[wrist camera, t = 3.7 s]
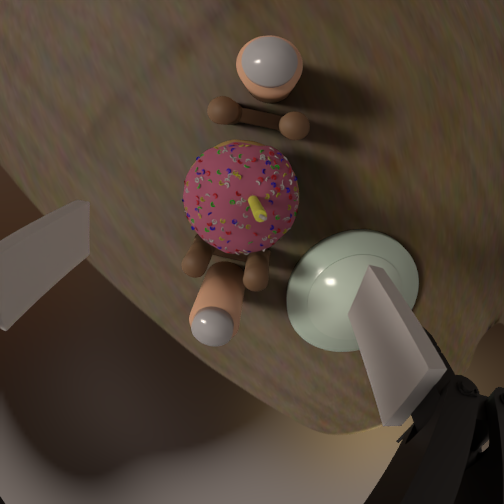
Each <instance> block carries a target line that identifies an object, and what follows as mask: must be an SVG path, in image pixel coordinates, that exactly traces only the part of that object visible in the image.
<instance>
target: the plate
mask: <svg viewBox="0 0 504 504" xmlns="http://www.w3.org/2000/svg"><path fill="white" fill-rule="evenodd" d="M368 265H372V266H376V267H380V268H383V269H384V270H385V272H386V273H387V275H388V276H389V278H390V279H391V280H392V282H393V283H394V285H395V286H396V288H397V289H398V291H399V292H400V294H401V295H402V297H403V298H404V300H405V301H406V303H407V304H408V306H409V307H410V309H411V310H412V308H413V306H414V304H415V301H416V298H417V294H418V287H419V279H418V272H417V268H416V265H415V263H414V260H413V259H412V257H411V256H410V254H409V253H408V252H407V251H406V249H405V248H404V247H403V246H402V245H401V244H400V243H399V242H398V241H396V240H395V239H394V238H392V237H390V236H389V235H387V234H384V233H381V232H379V231H374V230H368V229H355V230H348V231H343V232H340V233H337V234H334V235H331V236H329V237H327V238H325V239H323V240H322V241H320V242H319V243H317V244H316V245H314V246H313V247H312V248H311V249H309V250H308V251H307V252H306V253H305V254H304V255H303V256H302V258H301V259H300V260H299V262H298V263H297V264H296V266H295V268H294V270H293V271H292V274H291V276H290V279H289V282H288V286H287V293H286V300H287V311H288V316H289V319H290V322H291V324H292V326H293V327H294V329H295V331H296V332H297V333H298V334H299V335H300V336H301V337H302V338H303V339H304V340H305V341H307V342H308V343H310V344H312V345H314V346H316V347H318V348H321V349H324V350H329V351H337V352H348V351H356V350H360V349H359V346H358V343H357V340H356V337H355V334H354V331H353V328H352V325H351V323H350V320H349V317H348V312H349V310H350V308H351V306H352V303H353V301H354V299H355V296H356V294H357V292H358V289H359V287H360V285H361V282H362V280H363V277H364V275H365V273H366V270H367V268H368Z"/></svg>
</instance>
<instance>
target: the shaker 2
mask: <svg viewBox="0 0 504 504" xmlns="http://www.w3.org/2000/svg"><path fill="white" fill-rule="evenodd" d="M236 66H237V72H238V74H239V77H240V78H241V80H242V82H243V83H244V85H245V86H246V88H247V89H248V91H249V92H250V94H251V95H252V96H253V97H254V98H256V99H257V100H259V101H262V102H265V103H275V102H279V101H281V100H283V99H285V98H286V97H287V96H288V95H289V94H290V93H291V91H292V90H293V88H294V86H295V85H296V83H297V82H298V80H299V78H300V76H301V74H302V70H303V61H302V57H301V55H300V52H299V51H298V49H297V48H296V47H295V46H294V45H293V44H292V43H291V42H289V41H288V40H286V39H284V38H281V37H277V36H261V37H257V38H255V39H252V40H251V41H249V42H248V43H247V44H245V45H244V46H243V48H242V49H241V50H240V52H239V54H238V57H237V63H236Z"/></svg>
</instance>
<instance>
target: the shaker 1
mask: <svg viewBox="0 0 504 504" xmlns="http://www.w3.org/2000/svg"><path fill="white" fill-rule="evenodd" d="M243 277H244V272H243V270H242V269H241V268H240V267H239V266H237V265H236V264H234V263H231V262H218V263H215V264H213V265H212V266H211V267H210V268H209V269H208V271H207V273H206V276H205V278H204V281H203V283H202V285H201V288H200V290H199V293H198V295H197V298H196V300H195V303H194V305H193V308H192V310H191V313H190V316H189V322H190V325H191V330H192V333H193V335H194V336H195V338H196V339H197V340H198V341H200V342H201V343H203V344H206V345H209V346H221V345H224V344H226V343H227V342H229V341H230V339H231V338H232V337H234V336H235V334H236V333H237V331H238V329H239V323H240V317H241V310H242V304H243V297H244V291H245V285H244V283H243Z"/></svg>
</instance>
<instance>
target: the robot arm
mask: <svg viewBox="0 0 504 504" xmlns="http://www.w3.org/2000/svg"><path fill="white" fill-rule="evenodd" d="M89 208H90V202H87V201H82V200H76V201H73V202H71V203H69V204H67V205H65V206H63V207H61V208H59V209H57V210H55V211H53V212H51V213H49V214H47V215H45V216H43V217H42V218H40V219H38V220H36V221H34V222H32V223H30V224H29V225H27V226H25V227H23V228H21V229H20V230H18V231H16V232H14V233H13V234H11V235H9V236H7V237H6V238H4V239H2V240H1V241H0V328H1V329H3V330H5V331H7V330H8V329H9V328H10V327H11V326H12V325H13V324H14V323H15V322H16V321H17V320H18V319H19V318H20V317H21V316H22V315H23V314H24V313H25V312H26V311H27V310H28V309H29V308H30V307H31V306H32V305H33V304H34V303H35V302H36V301H37V300H38V299H39V298H40V297H42V296H43V295H44V294H45V293H46V292H47V291H48V290H49V289H50V288H51V287H53V285H55V284H56V283H57V282H58V281H59V280H60V279H61V278H62V277H64V276H65V275H66V274H67V273H68V272H69V271H71V270H72V269H73V268H74V267H75V266H77V265H78V264H79V263H80V262H81V261H82V260H84V259H85V258H86V257H87V256H88V255H89ZM348 317H349V320H350V323H351V325H352V328H353V331H354V334H355V337H356V340H357V343H358V346H359V349H360V352H361V355H362V358H363V361H364V364H365V367H366V370H367V374H368V377H369V380H370V383H371V386H372V390H373V393H374V396H375V400H376V403H377V407H378V410H379V413H380V417H381V421H382V424H383V426H401V425H402V424H403V423H404V422H405V421H406V419H408V418H409V416H410V415H411V416H412V418H413V421H414V423H413V424H412V425H411V427H410V428H409V429H408V430H407V431H406V432H405V433H404V434H403V435H402V436H401V437H400V438H399V439H398V440H397V442H398V443H399V442H400V441H401V440H402V439H403V440H402V442H401V444H400V446H399V448H398V449H397V451H396V453H395V455H394V457H393V458H392V460H391V462H390V464H389V465H388V467H387V469H386V470H385V472H384V474H383V475H382V477H381V478H380V480H379V482H378V483H377V485H376V486H375V488H374V489H373V491H372V492H371V494H370V495H369V497H368V498H367V500H366V501H365V503H364V504H504V388H502V387H498V388H496V389H495V390H494V391H493V392H492V394H491V395H490V396H489V397H487V396H483V395H480V394H479V391H478V389H477V387H476V385H475V384H474V383H473V382H472V381H471V380H469V379H468V378H466V377H464V376H462V375H455V374H454V372H453V370H452V369H451V367H450V365H449V363H448V362H447V360H446V358H445V357H444V355H443V353H441V350H440V348H439V347H438V346H437V343H436V342H435V340H434V338H433V337H432V335H431V334H430V333H429V332H428V331H427V330H426V329H425V328H424V327H422V326H421V324H420V323H419V321H418V320H417V318H416V316H415V315H414V313H413V312H412V310H411V309H410V307H409V306H408V304H407V303H406V301H405V300H404V298H403V297H402V295H401V294H400V292H399V291H398V289H397V288H396V286H395V285H394V283H393V282H392V280H391V279H390V278H389V276H388V275H387V273H386V272H385V270H384V269H383V268H380V267H376V266H372V265H368V268H367V270H366V273H365V275H364V277H363V280H362V282H361V285H360V287H359V289H358V292H357V294H356V296H355V299H354V301H353V303H352V306H351V308H350V310H349V312H348ZM488 440H489V447H488V448H487V449H486V450H485V451H483V452H482V449H481V447H482V445H484V444H485V443H486V442H487V441H488ZM0 504H5V503H4V501H3V500H2V498H1V497H0Z"/></svg>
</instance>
